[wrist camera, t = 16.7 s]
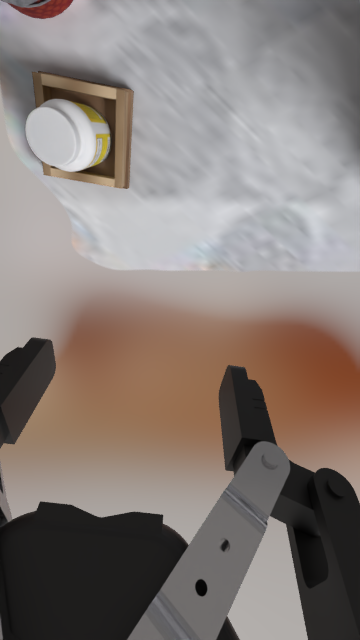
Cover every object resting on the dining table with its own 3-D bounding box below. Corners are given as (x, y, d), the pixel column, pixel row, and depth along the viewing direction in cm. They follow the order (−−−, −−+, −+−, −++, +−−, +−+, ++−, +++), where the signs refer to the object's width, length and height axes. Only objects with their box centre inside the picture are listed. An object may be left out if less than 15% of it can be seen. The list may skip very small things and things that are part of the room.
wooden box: (133, 91, 28) (128, 86, 25) (129, 187, 33) (124, 191, 31) (43, 73, 27) (28, 66, 25) (53, 173, 33) (41, 177, 30)
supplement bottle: (54, 113, 28) (1, 103, 20) (102, 99, 28) (67, 83, 19) (75, 170, 31) (37, 182, 23) (119, 159, 31) (95, 167, 22)
